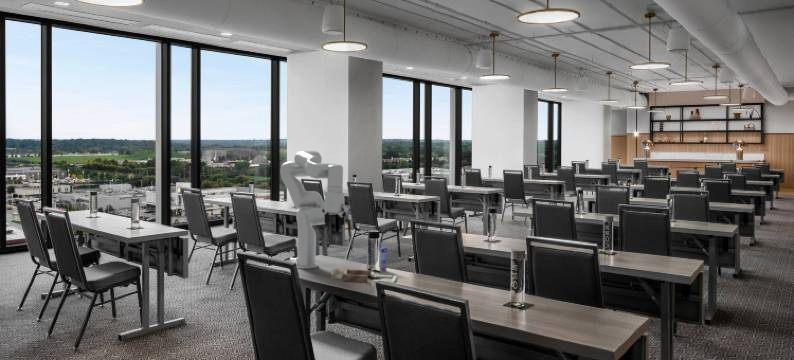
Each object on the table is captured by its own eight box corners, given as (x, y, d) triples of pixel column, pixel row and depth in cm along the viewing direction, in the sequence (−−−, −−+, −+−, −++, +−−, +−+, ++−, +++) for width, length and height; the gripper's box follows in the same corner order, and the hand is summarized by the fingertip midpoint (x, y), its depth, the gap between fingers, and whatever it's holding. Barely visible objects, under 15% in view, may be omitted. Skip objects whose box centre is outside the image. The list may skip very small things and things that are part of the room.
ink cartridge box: (387, 270, 307) (387, 243, 305) (380, 272, 302) (381, 245, 301) (372, 267, 312) (373, 241, 311) (366, 269, 308) (366, 242, 307)
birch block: (331, 278, 287) (331, 270, 287) (333, 276, 292) (333, 268, 292) (341, 279, 286) (341, 271, 286) (343, 276, 291) (343, 269, 291)
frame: (373, 282, 281) (373, 280, 281) (376, 276, 293) (376, 274, 293) (394, 283, 280) (394, 281, 280) (396, 277, 292) (396, 275, 292)
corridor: (342, 280, 283) (342, 274, 283) (347, 275, 295) (347, 269, 294) (367, 282, 282) (367, 276, 281) (370, 276, 293) (370, 270, 293)
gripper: (316, 188, 288) (316, 222, 289) (343, 191, 278) (342, 226, 280) (327, 187, 294) (326, 221, 296) (353, 190, 284) (352, 225, 286)
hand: (334, 223), depth 288 cm, fingers open, 9 cm apart
